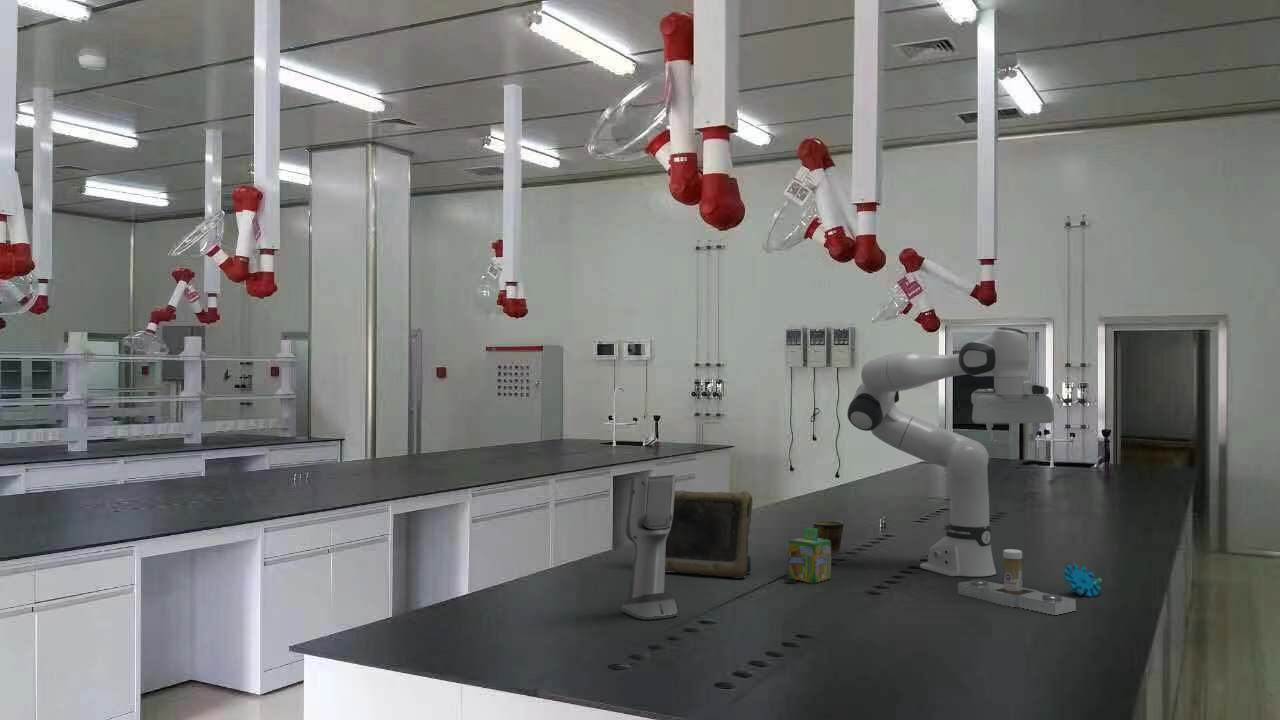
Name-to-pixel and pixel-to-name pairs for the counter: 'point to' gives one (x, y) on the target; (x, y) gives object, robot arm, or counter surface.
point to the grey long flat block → (1017, 597)
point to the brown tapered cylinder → (830, 532)
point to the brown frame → (710, 534)
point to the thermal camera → (650, 544)
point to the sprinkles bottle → (1013, 571)
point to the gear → (1082, 580)
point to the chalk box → (810, 558)
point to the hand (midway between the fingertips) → (1013, 440)
